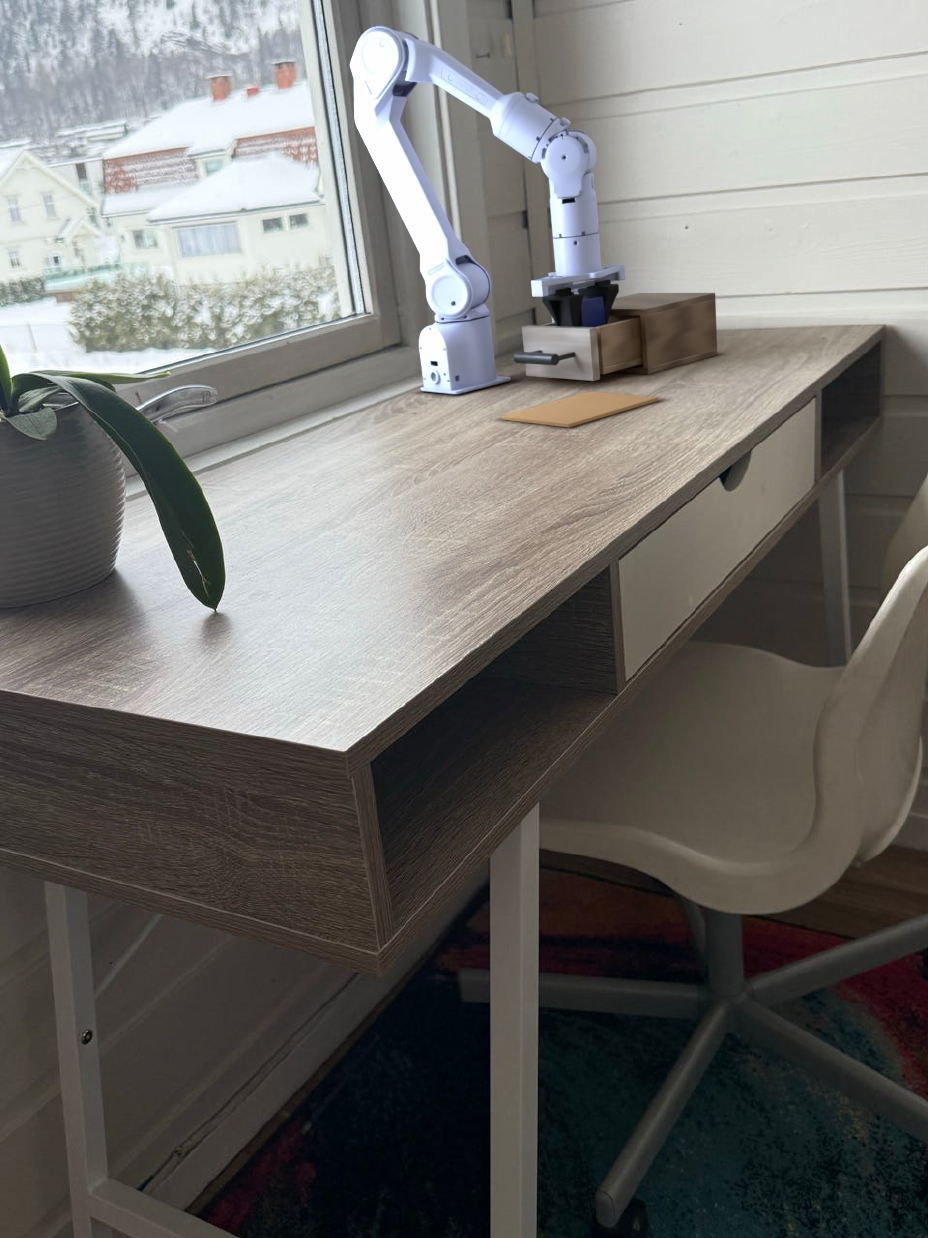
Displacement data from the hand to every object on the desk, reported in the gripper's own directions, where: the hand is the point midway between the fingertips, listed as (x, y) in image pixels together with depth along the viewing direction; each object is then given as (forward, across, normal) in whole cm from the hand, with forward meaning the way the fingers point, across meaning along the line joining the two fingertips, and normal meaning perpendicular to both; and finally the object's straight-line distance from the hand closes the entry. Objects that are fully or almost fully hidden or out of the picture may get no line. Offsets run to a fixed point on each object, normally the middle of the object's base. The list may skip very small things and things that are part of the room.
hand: (584, 346), depth 147 cm
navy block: (+2, 0, 0) cm, 2 cm away
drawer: (+3, -1, 0) cm, 3 cm away
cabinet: (+4, +11, 0) cm, 12 cm away
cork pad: (+4, -15, -14) cm, 21 cm away
